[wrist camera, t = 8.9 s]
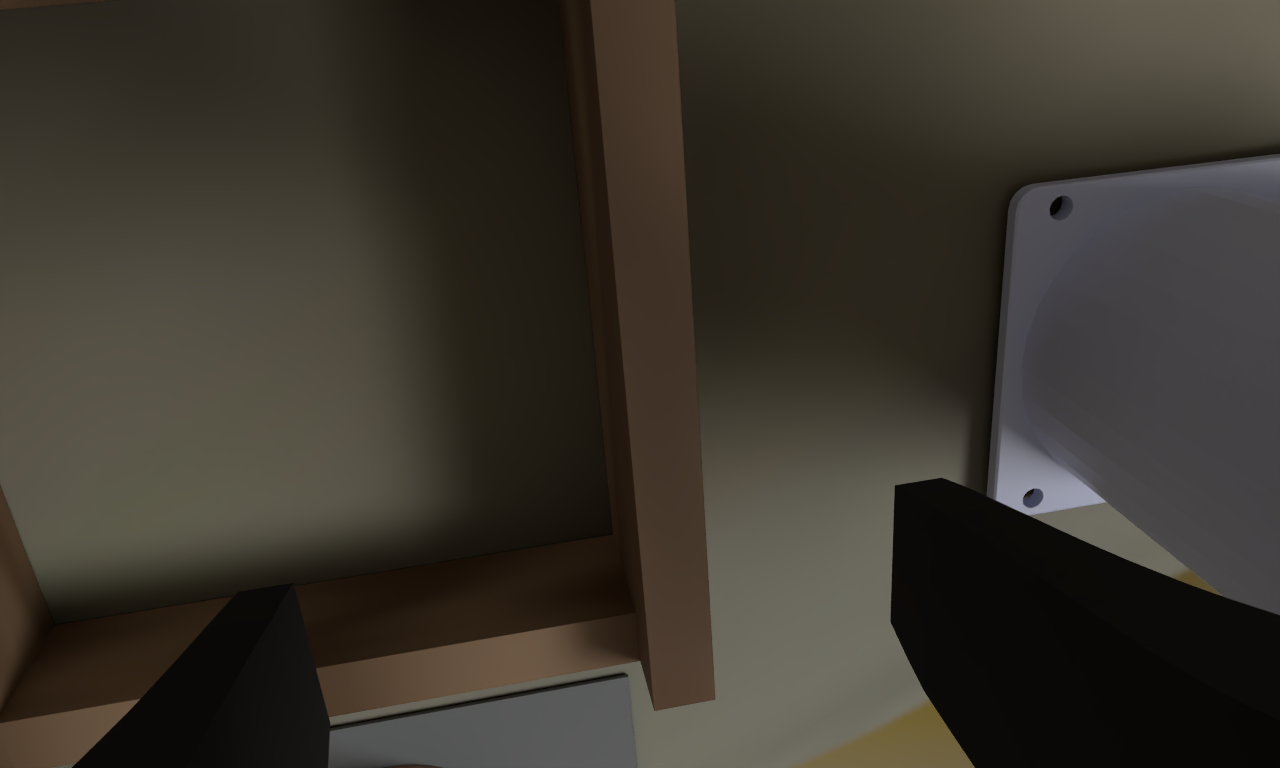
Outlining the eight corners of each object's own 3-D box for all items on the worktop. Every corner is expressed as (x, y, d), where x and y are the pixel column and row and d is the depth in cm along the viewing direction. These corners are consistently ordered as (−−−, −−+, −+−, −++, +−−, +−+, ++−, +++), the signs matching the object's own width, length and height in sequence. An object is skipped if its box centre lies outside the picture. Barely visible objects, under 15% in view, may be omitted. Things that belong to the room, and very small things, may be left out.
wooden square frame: (614, -118, 17) (666, -145, 13) (667, 570, 23) (715, 699, 19) (-294, -52, 15) (-563, -58, 11) (13, 680, 21) (-93, 851, 17)
